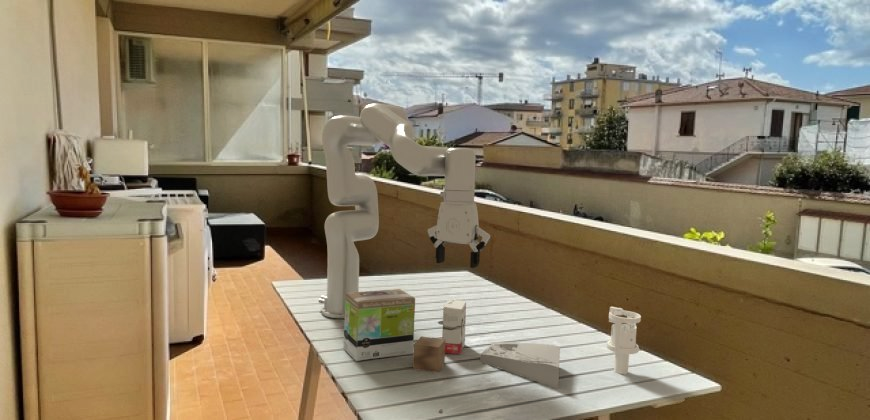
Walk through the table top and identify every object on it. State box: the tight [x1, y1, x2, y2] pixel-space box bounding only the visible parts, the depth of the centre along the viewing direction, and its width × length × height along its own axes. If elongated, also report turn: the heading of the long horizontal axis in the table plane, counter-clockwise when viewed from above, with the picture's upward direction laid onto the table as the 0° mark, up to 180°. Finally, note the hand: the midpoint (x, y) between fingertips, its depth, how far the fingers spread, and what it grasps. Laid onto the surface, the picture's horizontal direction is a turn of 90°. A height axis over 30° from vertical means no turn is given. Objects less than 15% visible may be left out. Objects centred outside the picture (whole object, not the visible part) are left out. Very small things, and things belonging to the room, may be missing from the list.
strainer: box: [606, 306, 642, 375], centre depth 130 cm, size 7×7×15 cm
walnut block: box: [412, 336, 446, 373], centre depth 130 cm, size 6×6×6 cm
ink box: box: [441, 299, 467, 355], centre depth 143 cm, size 9×5×12 cm, turn 168°
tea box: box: [343, 288, 416, 362], centre depth 138 cm, size 15×10×15 cm
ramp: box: [479, 341, 561, 390], centre depth 132 cm, size 28×16×5 cm, turn 27°
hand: (457, 264), depth 141 cm, fingers open, 9 cm apart
